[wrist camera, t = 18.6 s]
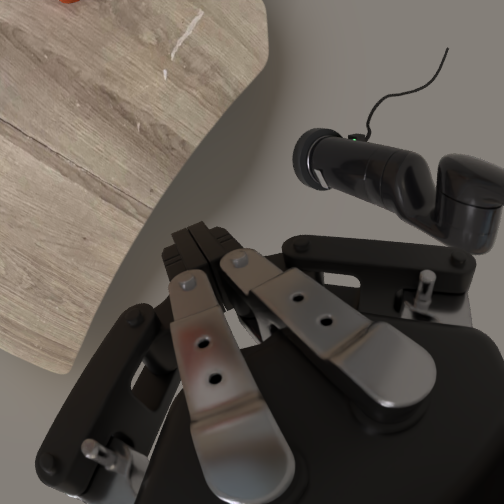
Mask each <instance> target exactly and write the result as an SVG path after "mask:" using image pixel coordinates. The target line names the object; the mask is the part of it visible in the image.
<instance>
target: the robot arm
mask: <svg viewBox="0 0 504 504" xmlns="http://www.w3.org/2000/svg"><path fill="white" fill-rule="evenodd" d="M448 50H449V48H447V49H446V51H445V54H444V57H443V59H442V62H441V64H440V66H439V69H438V71H437V72H436V74H435V75H434V77H433V78H432V79H431V80H430V81H429V82H428V83H427V84H426V85H424V86H422V87H420V88H417V89H415V90H411V91H407V92H402V93H396V94H388V95H386V96H384V97H382V98H381V99H380V100H379V101H378V102H377V103H376V104H375V105H374V107H373V108H372V110H371V112H370V114H369V116H368V119H367V122H366V127H367V130H368V133H367V136H366V138H365V135H363V134H353V135H348V139H346V138H339V137H334V136H329V135H324V136H321V137H319V138H317V139H316V140H314V141H313V143H312V144H311V145H310V147H309V149H308V152H307V155H306V167H307V171H308V174H309V175H310V177H311V178H312V179H313V180H314V181H315V182H316V183H319V184H322V186H323V187H325V188H327V189H328V187H327V186H329V187H331V188H334V189H337V190H339V191H342V192H345V193H347V194H349V195H352V196H355V197H357V198H360V199H362V200H365V201H367V202H370V203H372V204H375V205H377V206H379V207H382V208H384V209H386V210H389V211H391V212H393V213H395V214H396V215H397V216H398V217H399V218H400V219H401V220H403V221H404V222H406V223H408V224H409V225H411V226H414V227H416V228H417V229H419V230H421V231H422V232H424V233H426V234H428V235H429V236H431V237H432V238H434V239H436V240H437V241H439V242H441V243H443V244H444V245H446V246H448V247H444V246H434V245H423V244H414V243H403V242H391V241H380V240H368V239H356V238H342V237H329V236H328V237H327V236H316V235H299V236H294V237H291V238H289V239H288V240H286V241H285V242H284V243H283V245H282V252H283V253H279V254H274V255H270V256H262V255H261V254H260V253H258V252H257V251H256V250H254V249H250V248H243V247H242V246H241V245H240V244H239V243H238V242H237V240H235V238H233V237H232V236H231V234H229V232H228V231H227V230H226V229H224V228H221V227H214V228H212V229H210V230H209V229H208V228H207V226H206V225H205V224H204V223H203V221H201V222H199V223H196V224H194V225H191V226H189V227H187V229H188V230H187V229H186V228H184V229H182V230H179V231H177V232H174V233H172V234H171V235H172V237H173V240H174V243H175V244H173V245H171V246H169V247H166V248H164V250H163V253H162V259H163V262H164V265H165V268H166V271H167V275H168V277H169V281H170V283H169V286H168V290H169V296H168V297H167V298H166V299H165V300H164V301H163V302H162V303H161V304H160V305H158V306H157V307H155V308H154V309H153V307H152V306H151V305H149V304H145V303H143V304H142V303H141V304H137V305H134V306H132V307H130V308H128V309H127V310H125V311H124V312H123V313H122V314H121V316H120V317H119V318H118V320H117V321H116V323H115V324H114V326H113V327H112V329H111V330H110V331H109V333H108V334H107V336H106V337H105V339H104V340H103V342H102V343H101V345H100V346H99V348H98V349H97V351H96V353H95V354H94V355H93V357H92V358H91V360H90V362H89V363H88V365H87V366H86V368H85V370H84V371H83V373H82V374H81V376H80V378H79V379H78V381H77V383H76V384H75V386H74V388H73V389H72V391H71V392H70V394H69V396H68V398H67V399H66V401H65V403H64V404H63V406H62V408H61V410H60V411H59V413H58V415H57V417H56V418H55V420H54V422H53V424H52V426H51V428H50V429H49V432H48V433H47V435H46V437H45V439H44V441H43V443H42V445H41V447H40V449H39V451H38V453H37V456H36V460H35V468H36V473H37V475H38V477H39V479H40V480H41V481H42V482H43V483H44V484H45V485H47V486H49V487H51V488H54V489H56V490H58V491H61V492H63V493H65V494H67V495H68V496H71V497H73V498H76V499H79V500H81V501H83V502H84V503H86V504H504V360H503V358H502V356H501V353H500V352H499V349H498V347H497V346H496V344H495V343H494V342H493V341H492V339H491V338H490V337H489V336H487V335H486V334H484V333H483V332H482V331H480V330H478V329H475V328H473V327H472V318H471V311H470V304H469V298H468V290H469V287H470V284H471V281H472V278H473V275H474V272H475V268H476V260H475V258H474V257H473V256H472V255H483V254H486V253H488V252H489V251H490V250H491V249H492V248H493V246H494V243H495V240H496V237H497V233H498V228H499V224H500V219H501V214H502V209H503V206H504V168H501V167H499V166H497V165H495V164H492V163H490V162H487V161H485V160H482V159H479V158H476V157H473V156H469V155H463V154H448V155H445V156H443V157H442V158H441V160H440V162H439V165H438V173H437V186H436V187H435V184H434V182H433V179H432V175H431V172H430V169H429V166H428V164H427V162H426V161H425V159H424V158H423V157H422V156H421V155H420V154H418V153H415V152H412V151H407V150H403V149H398V148H394V147H389V146H384V145H379V144H374V143H369V142H367V141H368V139H369V138H370V135H371V129H370V126H369V124H370V120H371V117H372V115H373V113H374V111H375V110H376V108H377V107H378V106H379V105H380V104H381V103H382V102H383V101H384V100H385V99H387V98H389V97H396V96H402V95H406V94H410V93H414V92H417V91H419V90H422V89H424V88H426V87H427V86H428V85H430V84H431V83H432V82H433V81H434V80H435V78H436V77H437V75H438V73H439V72H440V70H441V68H442V65H443V62H444V60H445V58H446V55H447V52H448ZM324 272H326V273H335V274H344V275H351V276H354V277H356V278H357V279H358V280H359V281H360V284H361V285H360V287H359V288H354V287H346V286H337V285H330V284H324ZM223 304H224V305H223ZM224 306H225V308H226V309H227V311H228V310H231V309H233V308H234V309H235V311H236V313H237V316H238V319H239V321H240V323H241V324H242V325H243V327H244V328H245V329H246V331H247V332H248V333H249V334H250V335H251V337H252V338H253V339H254V340H255V342H256V343H257V344H258V345H255V346H251V347H247V348H243V349H239V347H238V345H237V342H236V340H235V338H234V336H233V334H232V331H231V329H230V327H229V325H228V322H227V320H226V318H225V316H224V312H226V311H225V308H224ZM142 361H143V363H144V364H145V366H144V368H143V370H142V372H141V374H140V376H139V377H138V379H137V381H136V383H135V385H134V387H133V389H132V391H131V381H132V378H133V376H134V375H135V372H136V371H137V369H138V367H139V365H140V363H141V362H142ZM180 381H182V385H183V389H182V390H181V391H180V392H179V393H178V395H177V396H176V397H175V399H174V401H173V403H172V405H171V407H170V409H169V412H168V414H167V417H166V420H165V422H164V425H163V427H162V430H161V432H160V435H159V438H158V441H157V443H156V445H155V448H154V451H153V453H152V456H151V459H150V461H149V460H148V458H147V457H148V455H149V453H150V450H151V448H152V445H153V443H154V441H155V438H156V436H157V434H158V431H159V429H160V427H161V424H162V422H163V420H164V418H165V415H166V413H167V411H168V408H169V406H170V404H171V402H172V399H173V397H174V395H175V392H176V390H177V388H178V386H179V383H180Z"/></svg>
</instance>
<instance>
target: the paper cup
mask: <svg viewBox="0 0 504 504" xmlns="http://www.w3.org/2000/svg"><path fill="white" fill-rule="evenodd" d="M59 1H61V2H62V3H74V2H77V1H79V0H59Z"/></svg>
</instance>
